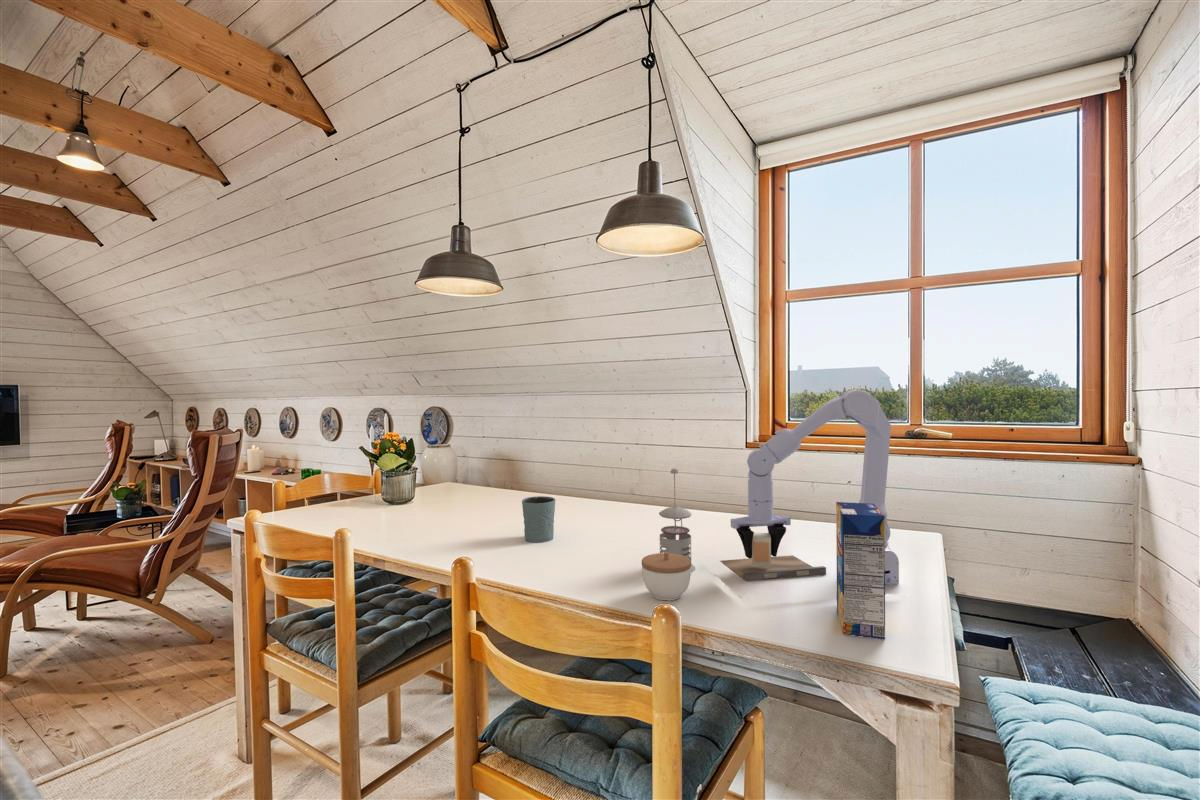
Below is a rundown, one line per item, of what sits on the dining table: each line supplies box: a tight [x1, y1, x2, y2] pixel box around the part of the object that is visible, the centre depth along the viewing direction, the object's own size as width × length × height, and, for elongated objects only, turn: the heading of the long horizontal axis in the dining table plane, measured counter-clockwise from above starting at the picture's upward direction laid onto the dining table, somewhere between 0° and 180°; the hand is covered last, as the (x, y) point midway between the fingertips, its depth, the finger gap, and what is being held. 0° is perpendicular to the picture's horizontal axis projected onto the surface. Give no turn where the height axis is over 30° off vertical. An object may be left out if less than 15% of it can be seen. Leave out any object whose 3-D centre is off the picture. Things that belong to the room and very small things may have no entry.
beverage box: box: [835, 501, 886, 640], centre depth 104 cm, size 7×11×22 cm, turn 162°
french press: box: [658, 468, 696, 573], centre depth 140 cm, size 10×12×25 cm
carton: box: [751, 532, 772, 568], centre depth 133 cm, size 5×4×7 cm
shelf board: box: [719, 554, 827, 582], centre depth 135 cm, size 15×20×3 cm
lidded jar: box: [641, 552, 692, 602], centre depth 121 cm, size 11×11×9 cm
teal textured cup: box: [521, 495, 556, 544], centre depth 168 cm, size 10×10×12 cm
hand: (761, 556), depth 133 cm, fingers closed on carton, 6 cm apart
